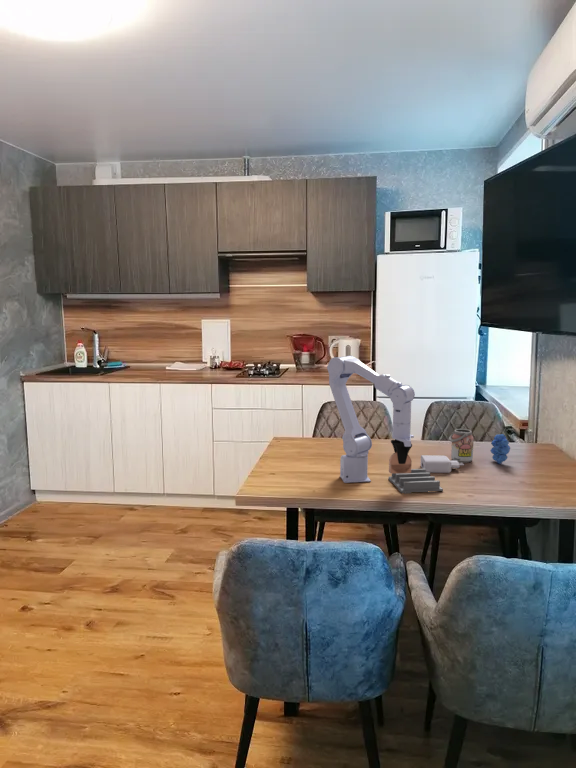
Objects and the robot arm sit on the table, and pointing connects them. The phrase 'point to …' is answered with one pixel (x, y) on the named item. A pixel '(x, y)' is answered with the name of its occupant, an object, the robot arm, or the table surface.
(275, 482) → the table surface
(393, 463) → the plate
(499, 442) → the grapes
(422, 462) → the charger
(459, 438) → the beverage can
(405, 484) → the dish rack
